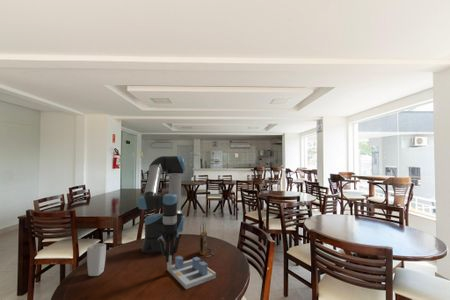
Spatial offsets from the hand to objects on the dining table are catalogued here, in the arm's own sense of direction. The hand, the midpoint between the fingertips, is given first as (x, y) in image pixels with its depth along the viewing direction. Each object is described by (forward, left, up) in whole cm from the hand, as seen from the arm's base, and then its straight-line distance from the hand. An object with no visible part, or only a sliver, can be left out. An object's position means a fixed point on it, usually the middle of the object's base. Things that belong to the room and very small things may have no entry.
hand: (169, 267), depth 120 cm
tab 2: (+7, +13, -1) cm, 15 cm away
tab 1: (0, +6, -1) cm, 6 cm away
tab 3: (+14, +13, -1) cm, 19 cm away
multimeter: (-10, +31, -4) cm, 33 cm away
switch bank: (+7, +9, -3) cm, 12 cm away
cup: (-23, -32, -4) cm, 39 cm away
